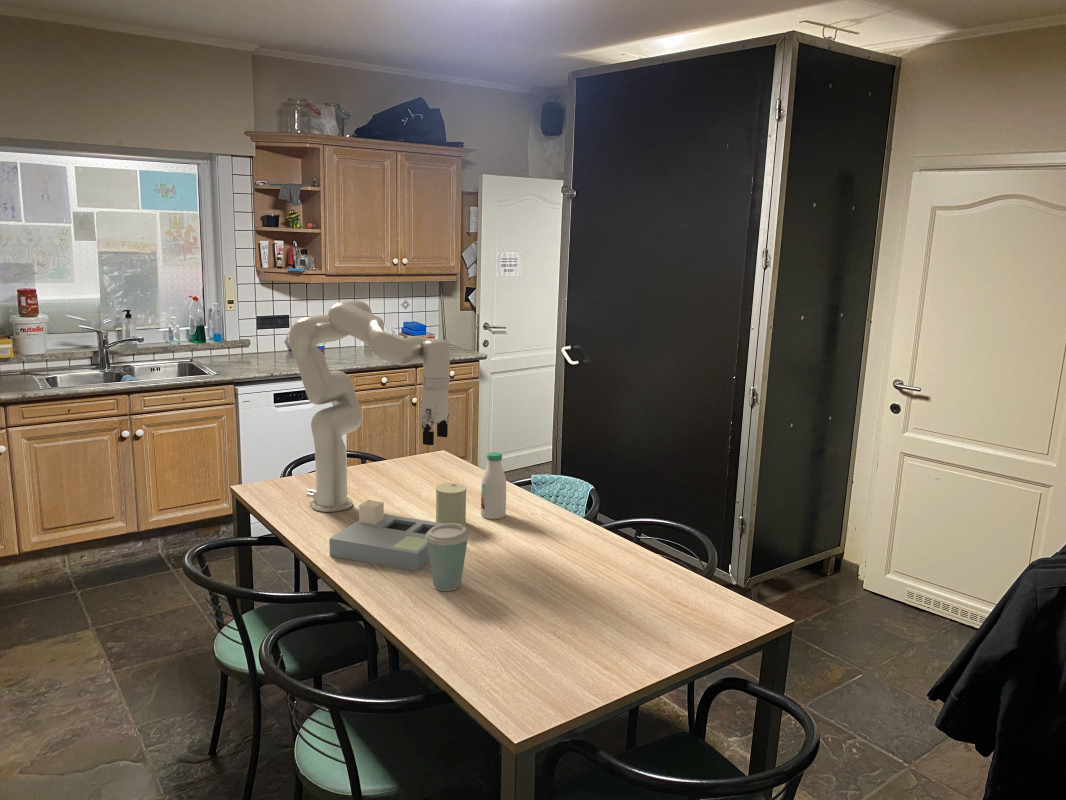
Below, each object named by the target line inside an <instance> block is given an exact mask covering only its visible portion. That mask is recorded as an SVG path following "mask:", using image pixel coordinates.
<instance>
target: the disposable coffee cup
mask: <svg viewBox="0 0 1066 800" xmlns="http://www.w3.org/2000/svg"><path fill="white" fill-rule="evenodd" d="M469 539H470V537H469V532H468V531H467V528H466V526H464V525H461V524H459V523H447V524H440V525H437V526H435V527H432V528H431V529H430V530H429V531H428V532H427V533H426V541H427V545H428V551H429V558H430V561H429V563H430V569H431V570H430V571H431V576H432V577H431V578H432V583H433V586H434V588H435V589H436V590H437V591H441V592H451V591H452V592H453V591H455V590H458V589H459V588H460V585H461V584H462V580H463V578H462V577H463V572H464V571H463V570H464V565H465V558H466V553H467V552H466V551H467V545H468V540H469Z"/></svg>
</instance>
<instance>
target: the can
mask: <svg viewBox="0 0 1066 800" xmlns="http://www.w3.org/2000/svg"><path fill="white" fill-rule="evenodd" d="M466 501H467V486H466V485H464V484H460V483H455V482H454V483H453V482H448V483H447V482H446V483H441V484H439V485H437V486H436V487H435V522H438V523H444V524H447V523H459V524H461V525H464V526H465V527H466V526H467V520H466V519H467V502H466Z"/></svg>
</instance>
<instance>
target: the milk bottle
mask: <svg viewBox="0 0 1066 800" xmlns="http://www.w3.org/2000/svg"><path fill="white" fill-rule="evenodd" d="M486 461H487V464H486V467H485V470H484V471H483V474H482V477H481V486H480V487H481V488H480V489H481V491H480V493H481V495H480V515H481V517H482V518H484V519H487V520H500V519H503V518H504V517H506V512H507V511H506V510H507V477H506V473H505V471H504V469H503V465H502V461H503V454H502V453H501V452H497V451H496V452H494V451H493V452H488V453H487V454H486Z"/></svg>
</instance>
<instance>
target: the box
mask: <svg viewBox="0 0 1066 800" xmlns="http://www.w3.org/2000/svg"><path fill="white" fill-rule="evenodd" d="M440 524H444V523H438V522H436V521H430V520H424V519H418V518H417V519H416V518H413V517H412V518H411V517H406V516H405V517H404V516H398V515H393V514H385V513H384V519H383V520H381V521H380V522H378V523H377V524H375V525H374V524H367V523H361V522H359V519H358V520H356V521H354V522H353V523H352V524H350V525H349V526H346V527H345V528H344V529H342V530H340V531H339V532H337V533H336V534H334V535H333V536H330V538H329V539H328V541H329V557H333V558H338V559H344V560H350V561H355V562H360V563H368V564H372V565H376V566H377V565H378V566H383V567H389V568H393V569H399V570H406V571H411V572H420V571H421V570H422V569H423V567H425V566H426V565H427V564H429V563H430V558H429V551H428V545H427V541H426V533H427V532H428V531H429V530H430V529H431V528H432V527H435V526H437V525H440Z"/></svg>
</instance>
